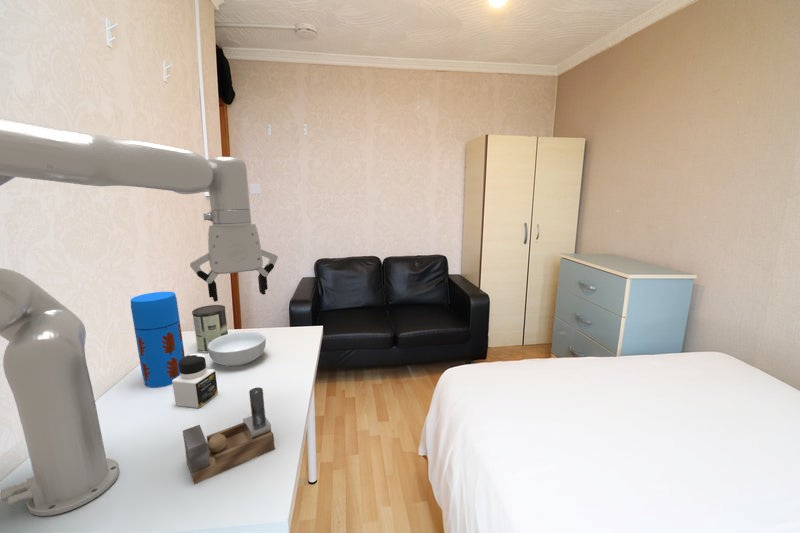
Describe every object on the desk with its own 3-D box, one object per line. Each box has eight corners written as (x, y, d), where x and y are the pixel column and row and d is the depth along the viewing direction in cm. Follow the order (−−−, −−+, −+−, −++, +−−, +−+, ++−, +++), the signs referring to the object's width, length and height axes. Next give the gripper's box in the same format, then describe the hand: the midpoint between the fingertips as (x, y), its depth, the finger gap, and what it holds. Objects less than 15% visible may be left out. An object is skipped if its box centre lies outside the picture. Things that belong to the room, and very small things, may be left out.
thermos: (190, 367, 114) (179, 289, 109) (183, 383, 104) (171, 298, 99) (149, 373, 110) (136, 293, 105) (138, 391, 100) (123, 303, 96)
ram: (252, 444, 74) (247, 400, 72) (244, 430, 79) (239, 389, 77) (272, 436, 77) (267, 393, 75) (262, 423, 81) (258, 382, 79)
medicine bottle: (199, 408, 91) (193, 364, 89) (175, 406, 93) (168, 362, 91) (218, 393, 98) (213, 352, 96) (195, 391, 100) (190, 350, 97)
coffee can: (218, 339, 136) (214, 303, 134) (235, 344, 131) (231, 307, 128) (190, 349, 128) (185, 310, 125) (207, 355, 122) (202, 315, 120)
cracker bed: (194, 484, 67) (189, 450, 66) (186, 460, 73) (182, 429, 72) (274, 448, 76) (271, 418, 75) (262, 430, 82) (259, 402, 81)
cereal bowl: (231, 378, 106) (228, 356, 105) (199, 365, 115) (196, 344, 114) (278, 356, 121) (276, 336, 119) (246, 346, 129) (244, 327, 128)
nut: (210, 459, 71) (208, 443, 70) (207, 450, 73) (205, 435, 73) (229, 451, 73) (227, 436, 72) (225, 442, 75) (223, 428, 75)
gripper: (185, 221, 69) (195, 307, 73) (278, 217, 78) (284, 294, 81) (183, 219, 76) (193, 299, 79) (270, 216, 85) (275, 287, 88)
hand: (239, 296), depth 80 cm, fingers open, 9 cm apart
